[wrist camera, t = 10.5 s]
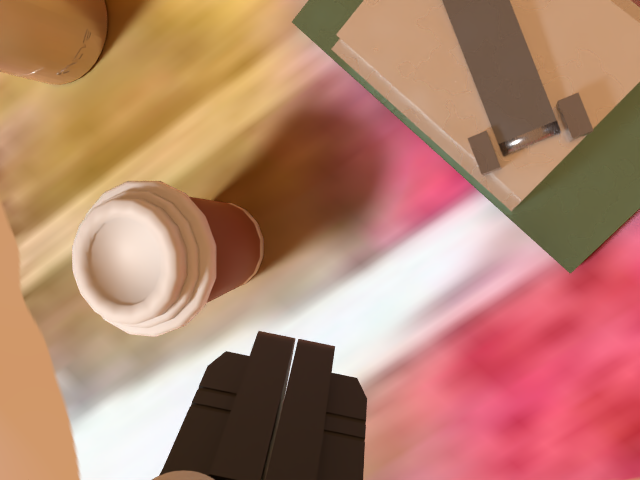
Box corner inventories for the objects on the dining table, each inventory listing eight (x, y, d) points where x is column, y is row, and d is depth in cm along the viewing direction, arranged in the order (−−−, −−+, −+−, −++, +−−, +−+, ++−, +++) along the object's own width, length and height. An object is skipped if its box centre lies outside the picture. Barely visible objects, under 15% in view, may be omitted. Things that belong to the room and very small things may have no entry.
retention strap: (560, 133, 31) (561, 132, 30) (503, 156, 32) (502, 155, 31) (479, -73, 31) (478, -80, 30) (424, -45, 32) (422, -50, 31)
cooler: (298, 26, 42) (245, -14, 34) (423, -136, 38) (397, -223, 30) (568, 271, 37) (581, 291, 29) (738, 111, 34) (804, 84, 26)
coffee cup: (240, 159, 44) (140, 145, 32) (304, 267, 43) (225, 292, 31) (150, 226, 46) (29, 235, 35) (208, 329, 45) (103, 372, 34)
